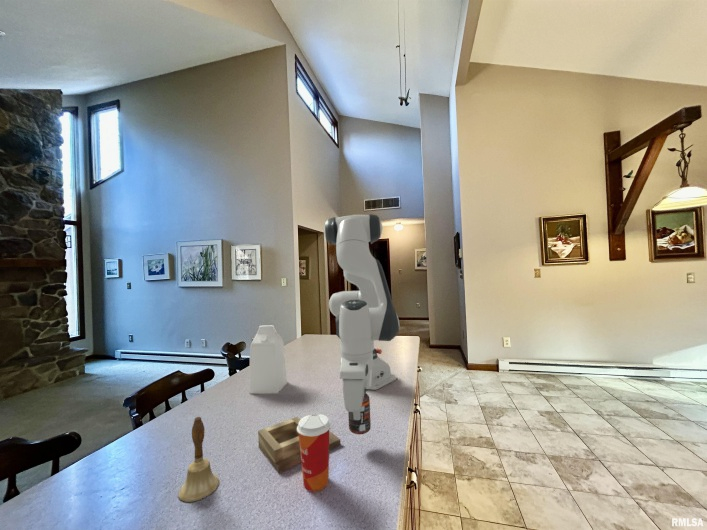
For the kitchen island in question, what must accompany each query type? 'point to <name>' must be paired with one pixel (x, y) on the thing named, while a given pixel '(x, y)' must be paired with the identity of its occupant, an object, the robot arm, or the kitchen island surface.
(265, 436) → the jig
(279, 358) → the milk
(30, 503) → the kitchen island surface
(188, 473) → the hand bell
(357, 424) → the supplement bottle
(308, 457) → the paper cup
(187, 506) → the kitchen island surface
